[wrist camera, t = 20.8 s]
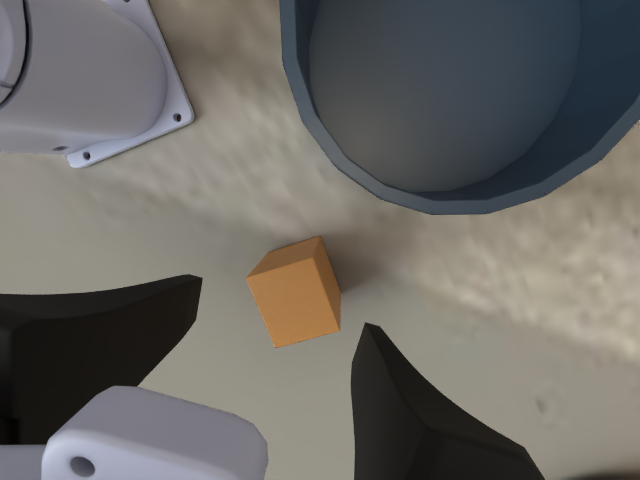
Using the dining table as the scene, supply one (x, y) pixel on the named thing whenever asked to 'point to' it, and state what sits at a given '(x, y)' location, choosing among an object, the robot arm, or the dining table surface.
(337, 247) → the dining table surface
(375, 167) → the pot
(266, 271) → the wooden brick
